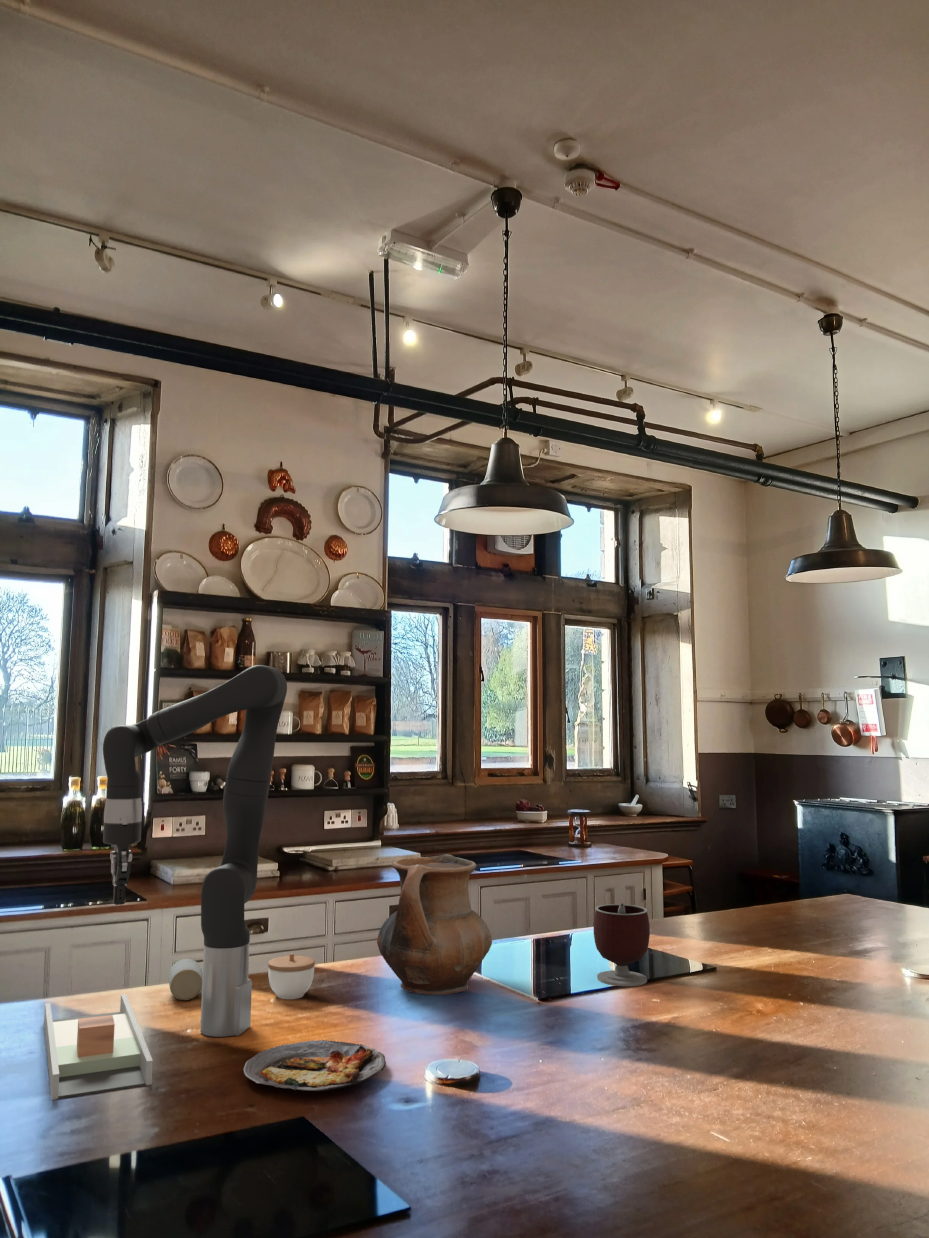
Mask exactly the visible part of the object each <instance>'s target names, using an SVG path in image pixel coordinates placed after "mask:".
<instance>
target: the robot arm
mask: <svg viewBox="0 0 929 1238" xmlns="http://www.w3.org/2000/svg"><path fill="white" fill-rule="evenodd" d="M287 692H288V683H287V679H286V677H285V676H284V674H283V673H282V671H280V670H279V669H278V668H276V667H274V666H269V665H264V664H257V665H251V666H250V667H248V668H246V669H244V670H243V671H241V672H240V673H239V674H237V675H235V676H234V677H232V678H230V679H229V680H227V681H225V682H223V683H222V684H219V685H218V686H216V687H214V688H212V689H210V690H208V691H206V692H203V693H201V694H199V695H196V696H193V697H191V698H188V699H186V700H183V701H180V702H178V703H175V704H172V705H170V706H168V707H165V708H163V709H160V710H158V711H155V712H154V713H152V714H150V715H149V716H148V717H147V718H146V719H144V720H141V721H139V722H137V723H133V724H129V725H128V724H126V725H125V724H122V725H115V726H113V727H111V728H109V730H108V731H106V733H105V736H104V739H103V743H102V755H103V760H104V761H103V763H104V767H105V773H106V780H107V781H106V795H105V798H106V799H105V804H104V805H105V806H104V810H103V831H102V832H103V833H102V834H103V836H102V842H103V844H105V845H114V846H113V851H110V861H111V862H110V863H111V865H110V873H111V881H112V886H113V899H112V902H113V904H114V906H119V905H124V904H125V903H126V894H127V893H126V891H127V889H126V888H127V886H128V885H129V882H130V873H131V869H132V868H131V867H132V860H133V852H132V851H131V850H130V846H131V844H132V845H133V844H137V843H139V842H141V840H142V821H143V820H142V816H143V804H142V791H143V789H142V787H143V785H142V784H143V778H142V774H141V772H140V771H139V770H137V766H136V765H137V764H136V758H137V757H140V756H142V755H145V754H147V753H149V752H151V751H153V750H154V749H156V748H158V747H161V746H162V745H164V744H167V743H170V742H173V741H176V740H178V739H180V738H183V737H186V736H187V735H189V734H191V733H194V732H196V731H198V730H200V729H201V728H203V727H205V726H207V725H209V724H211V723H212V722H214V721H216V720H218V719H221V718H223V717H225V716H228V715H231V714H235V713H238V712H243V711H245V716H244V723H243V727H242V728H243V729H242V732H241V734H240V738H239V739H238V742H237V743H236V744H237V745H236V747H235V749H234V752H233V754H232V756H231V759H230V762H229V764H228V769H227V772H226V776H225V783H224V789H223V795H222V796H223V798H222V799H223V800H222V802H223V803H222V805H223V814H224V821H225V828H226V829H225V830H226V831H225V832H226V836H225V837H226V839H225V844H224V845H225V846H224V851H223V856H222V860H221V863H220V866H217V867H215V868H214V869H212V870H211V871H209V872H208V873H207V875H206V876H205V877H204V879H203V882H202V886H201V894H200V928H201V932H202V935H203V957H202V958H203V960H202V973H203V979H202V994H201V1004H200V1005H201V1007H200V1011H201V1012H200V1033H201V1034H202V1035H204V1036H207V1037H212V1038H213V1037H217V1038H220V1037H221V1038H223V1037H231V1036H241V1035H242V1034H243V1033H244V1032H245V1031H246V1030H247V1029H249V1028H250V1027H251V1017H252V1016H251V1015H252V992H253V991H252V989H253V987H252V985H253V981H252V978H249V972H250V971H249V968H250V942H251V941H250V940H251V931H250V928H249V927H248V926H247V925H246V922H245V904H246V903H248V902H249V900H251V898H252V897H253V896H254V894H255V891H256V888H257V882H258V862H259V850H260V849H259V847H260V840H261V834H262V829H263V826H264V820H265V812H266V807H267V802H268V800H269V799H268V797H269V793H270V792H269V791H270V785H271V781H272V771H273V763H274V756H275V748H276V737H277V730H278V727H279V723H280V719H281V715H282V711H283V708H284V704H285V701H286V696H287Z"/></svg>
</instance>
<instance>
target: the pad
mask: <svg viewBox="0 0 929 1238" xmlns="http://www.w3.org/2000/svg"><path fill="white" fill-rule="evenodd" d="M56 1051H57V1059H58V1067H59V1077H65V1076H72V1075H79V1074H86V1073H93V1072H100V1071H107V1070H114V1069H121V1068H128V1067H135V1066H140V1052H139V1049H138V1047H137V1044H136V1041H135V1039H134V1037H130V1038H123V1039H115V1040H114V1047H113V1053H108V1054H100V1055H92V1056H85V1057H78V1054H77V1045H69V1046H61V1047H56Z"/></svg>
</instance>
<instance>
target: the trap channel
mask: <svg viewBox="0 0 929 1238" xmlns="http://www.w3.org/2000/svg"><path fill="white" fill-rule="evenodd" d="M119 1008H120V1009H119V1011H116V1012H115V1011H114V1012H108V1013H99V1014H91V1015H90V1014H89V1015H83V1016H75V1017H74V1016H72V1017H65V1018H57V1019H53V1013H52V1012H53V1011H52V1004H51V1001H49V1002H45V1003H44V1014H43V1015H44V1016H43V1017H44V1018H43V1025H44V1036H45V1037H44V1039H45V1048H46V1059H47V1068H48V1069H49V1070H48V1078H49V1088H50V1098H51V1100H52V1101H53V1100H59V1099H66V1098H72V1097H80V1096H86V1095H93V1094H98V1093H99V1094H100V1093H105V1092H112V1091H119V1090H126V1089H133V1088H139V1087H144V1086H151V1085H152V1084H153V1067H154V1066H153V1064H154V1063H153V1062H154V1060H153V1057H152V1055H151V1053H150V1050H149V1047H148V1045H147V1043H146V1041H145V1038H144V1035H143V1032H142V1030H141V1028H140V1026H139V1023H138V1021H137V1019H136V1016H135V1013H134V1011H133V1008H132V1006H131V1004H130V1001H129V998H128V995H127V993H123V994H122V993H121V994H120V1005H119ZM108 1015H113V1019H114V1024H115V1027H114V1040H115V1039H123V1038H130V1037H134V1039H135V1041H136V1044H137V1047H138V1049H139V1052H140V1066H135V1067H128V1068H121V1069H114V1070H107V1071H100V1072H93V1073H86V1074H79V1075H72V1076H65V1077H59V1067H58V1059H57V1051H56V1047H61V1046H69V1045H77V1033H78V1019H81V1018H90V1017H99V1016H108Z"/></svg>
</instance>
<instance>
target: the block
mask: <svg viewBox="0 0 929 1238" xmlns="http://www.w3.org/2000/svg"><path fill="white" fill-rule="evenodd" d="M114 1027H115V1024H114V1019H113V1015H108V1016H99V1017H90V1018H81V1019H78V1033H77V1054H78V1057H85V1056H92V1055H100V1054H108V1053H113V1047H114Z"/></svg>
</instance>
